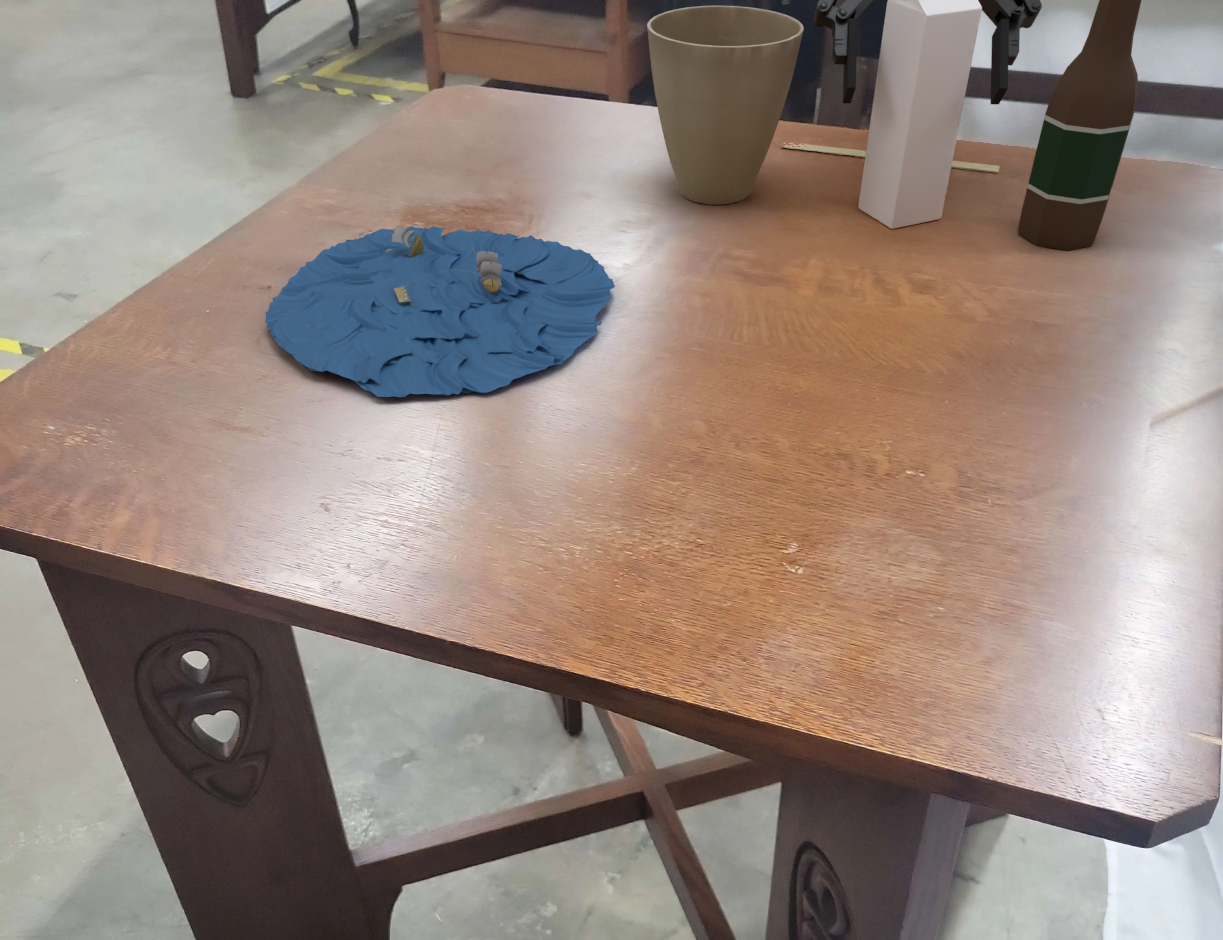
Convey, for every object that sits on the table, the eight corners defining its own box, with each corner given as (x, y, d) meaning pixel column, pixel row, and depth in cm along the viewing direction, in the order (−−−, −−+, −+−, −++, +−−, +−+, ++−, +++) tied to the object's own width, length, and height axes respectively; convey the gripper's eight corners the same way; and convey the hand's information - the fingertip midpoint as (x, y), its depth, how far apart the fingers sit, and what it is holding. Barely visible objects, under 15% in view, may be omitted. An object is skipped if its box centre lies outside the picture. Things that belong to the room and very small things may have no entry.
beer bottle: (998, 234, 104) (1066, -53, 88) (1043, 212, 107) (1115, -66, 91) (1071, 258, 99) (1156, -39, 83) (1114, 235, 103) (1204, -53, 87)
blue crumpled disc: (686, 347, 90) (690, 289, 86) (349, 450, 78) (338, 388, 75) (521, 217, 108) (519, 165, 104) (227, 285, 96) (213, 229, 93)
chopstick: (999, 167, 117) (1000, 165, 117) (997, 173, 115) (998, 171, 115) (784, 143, 123) (785, 141, 123) (781, 148, 122) (781, 146, 122)
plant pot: (684, 230, 105) (690, 53, 95) (622, 179, 115) (621, 15, 105) (814, 204, 110) (834, 33, 99) (744, 158, 120) (755, -2, 109)
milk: (941, 220, 106) (993, -34, 92) (890, 230, 105) (934, -27, 90) (905, 198, 111) (949, -48, 96) (855, 208, 109) (892, -41, 94)
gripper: (1051, -98, 102) (1047, 118, 101) (789, -97, 104) (783, 116, 103) (1081, -158, 95) (1077, 74, 94) (798, -156, 96) (791, 72, 95)
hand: (923, 96), depth 98 cm, fingers open, 13 cm apart
